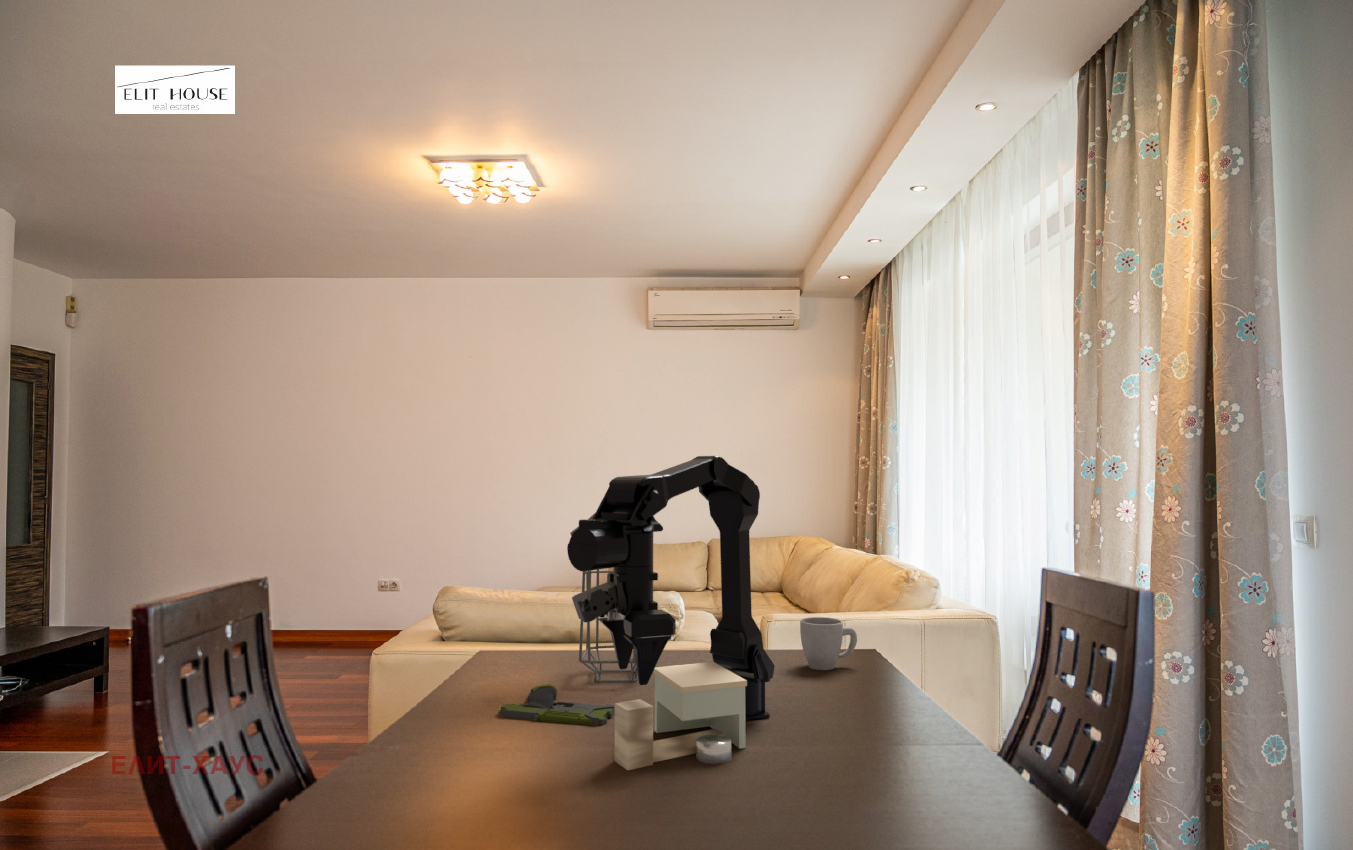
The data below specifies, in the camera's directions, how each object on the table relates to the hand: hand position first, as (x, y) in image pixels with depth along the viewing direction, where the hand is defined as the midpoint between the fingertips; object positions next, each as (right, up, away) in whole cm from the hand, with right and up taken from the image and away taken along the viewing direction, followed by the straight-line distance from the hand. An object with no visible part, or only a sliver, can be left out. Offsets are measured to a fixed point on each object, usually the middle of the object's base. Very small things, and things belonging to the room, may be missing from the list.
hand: (632, 676), depth 109 cm
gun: (-13, -14, +24) cm, 31 cm away
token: (+12, -12, +2) cm, 17 cm away
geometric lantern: (-7, -15, +45) cm, 48 cm away
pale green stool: (+10, -13, +9) cm, 18 cm away
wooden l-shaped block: (+6, -12, +3) cm, 14 cm away
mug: (+38, -16, +54) cm, 68 cm away
